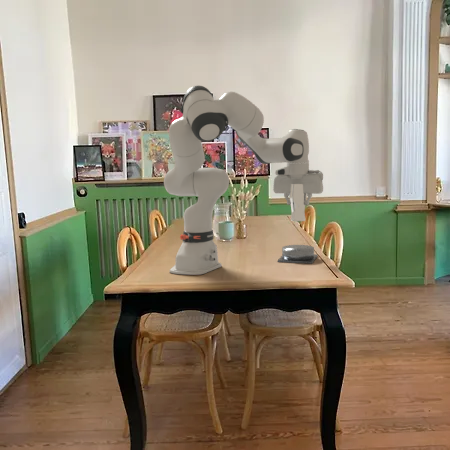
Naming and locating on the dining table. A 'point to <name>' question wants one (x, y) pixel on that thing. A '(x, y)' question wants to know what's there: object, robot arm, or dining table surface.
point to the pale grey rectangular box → (297, 202)
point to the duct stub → (298, 254)
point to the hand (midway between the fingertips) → (297, 204)
